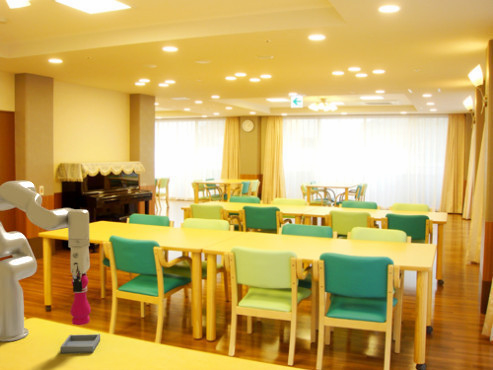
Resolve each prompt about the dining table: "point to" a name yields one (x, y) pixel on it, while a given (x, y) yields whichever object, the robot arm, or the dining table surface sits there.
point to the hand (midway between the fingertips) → (80, 288)
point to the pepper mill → (81, 304)
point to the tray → (80, 344)
